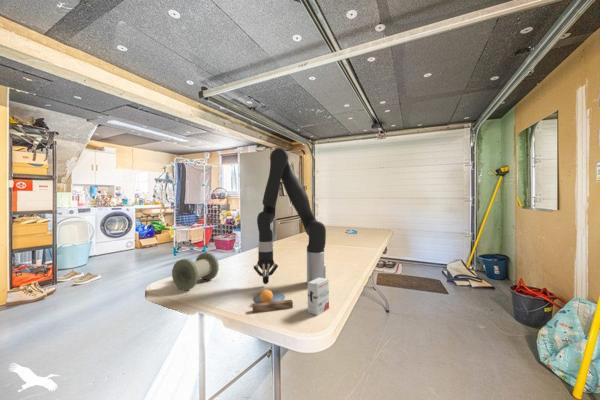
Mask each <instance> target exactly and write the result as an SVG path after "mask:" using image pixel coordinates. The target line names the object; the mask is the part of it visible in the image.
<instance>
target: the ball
mask: <svg viewBox="0 0 600 400" xmlns="http://www.w3.org/2000/svg"><path fill="white" fill-rule="evenodd" d="M271 291H272V290H270V289H264V290H262V291H261V292H260V293H261V294H260V300H261V302H262V303H266V302H271V301H272V299H273V293H272V292H271Z"/></svg>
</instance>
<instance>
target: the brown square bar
mask: <svg viewBox="0 0 600 400" xmlns="http://www.w3.org/2000/svg"><path fill="white" fill-rule="evenodd" d="M293 303H294V302H293V300H292V299H286V300H285V299H284V300H283V301H275V302H266V303H253V304H252V314H255V313H264V312H270V311H277V310H285V309H291V308H292V309H293V306H294V305H293Z"/></svg>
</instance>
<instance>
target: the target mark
mask: <svg viewBox="0 0 600 400" xmlns="http://www.w3.org/2000/svg"><path fill="white" fill-rule="evenodd" d="M270 291H271V292H272V293H273V299H272V301H271V302H275V301H283V300H285V297H286V296H285V294H284V293H282V292H280V291H276V290H275V291H274V290H270ZM260 294H261V292H260V293H259V292H258V293H257V294H256V295H254V297H253V302H254V303H255V304H258V303H262V302H261V300H260Z"/></svg>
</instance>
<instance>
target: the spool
mask: <svg viewBox="0 0 600 400" xmlns="http://www.w3.org/2000/svg"><path fill="white" fill-rule="evenodd" d="M219 266H220V265H219V262H218V258H217V257H216V256H215V255H214V254H213V253H211V252H203V253H200V254H198V256H197V257H196V258H195V261H192V260H190V259H189V258H182V259H180V260H177V261H176V262H175V263H174V265H173V267H172V270H171V271H172V272H171V277H172V281H173V283H174V285H175V287H177V288H178V289H179V290H181V289H184V290H183V291H189V290H191V289H193V288H194V287H195V286H197V282H198V280H199V279H201V278H202V279H201V280H203V279H207V280H206V281H210V280H213V279H215V277H216V276H217V275H218V272H219V269H220V267H219Z"/></svg>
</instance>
